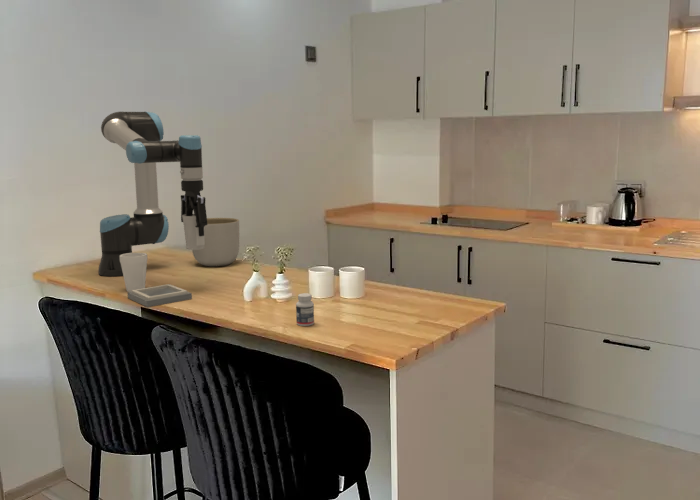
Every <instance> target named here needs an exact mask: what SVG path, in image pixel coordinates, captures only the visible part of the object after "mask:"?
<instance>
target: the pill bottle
mask: <svg viewBox="0 0 700 500" xmlns="http://www.w3.org/2000/svg"><path fill="white" fill-rule="evenodd" d="M312 297H313V296H312V293H307V292H304V293H299V294H298V295H297V300H298V301H297V302H296V303H295V311H296V312H295V313H296V314H295V315H296V324H297V326H300V327H309V326H313V325H314V324H315V310H314V309H315V306H314V302H313V300H312V299H313V298H312Z"/></svg>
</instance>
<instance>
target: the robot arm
mask: <svg viewBox="0 0 700 500" xmlns="http://www.w3.org/2000/svg"><path fill="white" fill-rule="evenodd" d="M100 131H101V134H102V136H103V137H104V138H105V140H107V141H109V142H110V143H113V144H116V145H118V146H119V147H120V148H121V149H123V150H124V151H125V154H126V159H127V160H128V162H129V163H130V164H133V165H134V180H135V196H136V209H135V210H134V211H133V217H131V216H130V215H129V214H116V215H110V216H107V217H104V218H102V219H101V220H100V222H99V233H100V243H101V244H100V247H101V258H100V261H99V266H98V275H100V276H101V277H102V276H103V277H124V276H123V272H122V267H121V263H120V257H119V256H120V255H122V254H126V253H133V246H135V247H136V246H144V245H150V244H151V245H156V244H159V243H161V244H162V242H164V241H165V240H166V239H167V237H168V234H169V227H170V226H169V225H170V224H169V220H168V217H167V215H164V214H163V213H164V212H163V210H161V208H160V207H159V191H158V190H159V189H158V176H157V175H158V173H157V163H179V164H180V165H179V168H180V171H179V173H180V179H182V180H181V181H180V185H181V188H180V189H181V191H182V192H184V193H185V194H182V195H181V194H180V202H181V203H180V204H181V205H180V207H181V208H180V210H181V211H180V214H181V215H180V216H181V217H180V222H181V223H183V218H182V215H185V214H186V216H192V214H194V215H195V216H196V223H197V226H195V227H196V241H197V246H199V245H205V242H204V227H205V225H207V218H208V217H207V208H206V197H205V196H203V197H202V196H201V191H203V190H204V181H203V180H202V179H204V175H203V173H204V172H203V154H202V147H203V145H202V141H201V139H202V138H201V136H200V135H198V134H197V135H194V134H191V135H190V134H188V135H187V134H186V135H180V136H179V137H178V140H163V139H164V132H165V131H164V126H163V122H162V120H161V118H160V116H159V115H158V114H157V113H155V112H153V111H152V112H150V111H114V112H112V113H110V114H108V115H107V116H106V117H105V118H104V119H103V121H102V123H101V126H100Z"/></svg>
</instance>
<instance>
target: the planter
mask: <svg viewBox="0 0 700 500" xmlns="http://www.w3.org/2000/svg"><path fill="white" fill-rule="evenodd" d="M204 242H205V245H204V248H203V249H198V250H191V251H192V256H193V257H194V260H195V261H196V262H197V263H198V264H200V265H201V266H204V267H223V266H228V265H231V264H233V262H234V261H236V259H237V258H238V256H239V253H240V219H238V218H231V217H207V225H205V234H204Z"/></svg>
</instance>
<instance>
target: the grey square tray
mask: <svg viewBox="0 0 700 500" xmlns="http://www.w3.org/2000/svg"><path fill="white" fill-rule="evenodd" d="M127 299H128V300H131V301H133V302H136V303H137V304H140V305H142V306H144V307H147V308H149V307H150V308H151V307H155V306H161V305H167V304H171V303H177V302H182V301H188V300H192V299H193V294H192V292H190V291H188V290H187V289H184V288H181V287H179V286H178V287H177V286H176V285H173V284H170V283H169V284H162V285H156V286H151V287H150V286H149V287H145V288H143V289H136V290H131V292H128V291H127Z"/></svg>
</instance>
